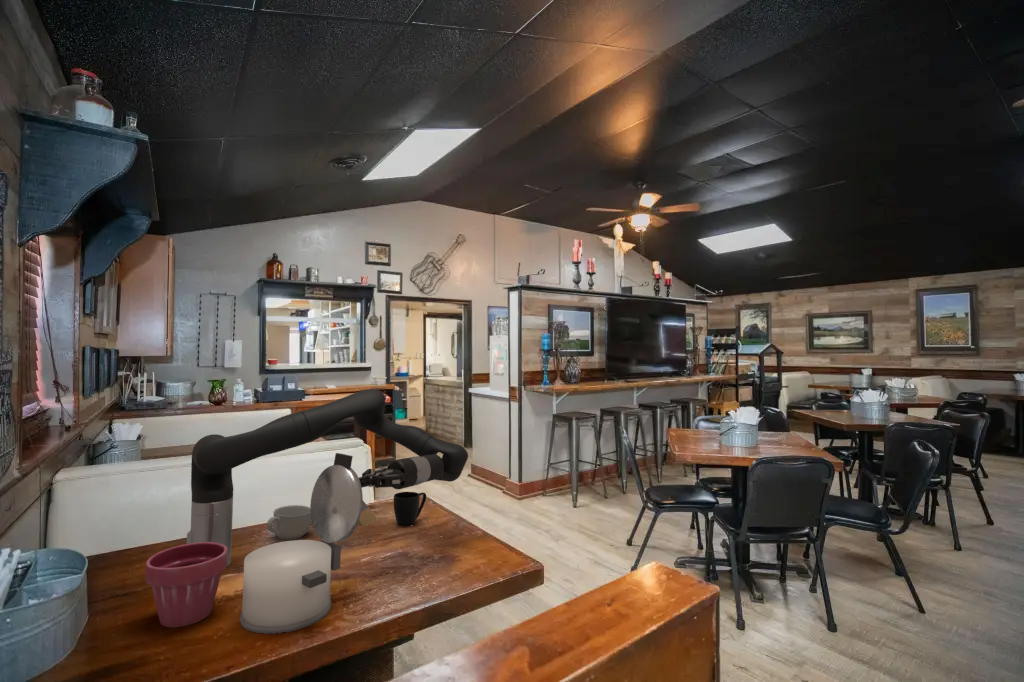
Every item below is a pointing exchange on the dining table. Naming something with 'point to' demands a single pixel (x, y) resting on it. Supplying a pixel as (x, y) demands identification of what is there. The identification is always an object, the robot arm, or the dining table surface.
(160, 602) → the plant pot
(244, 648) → the dining table surface
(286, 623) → the oval food canister
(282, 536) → the teacup
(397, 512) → the mug
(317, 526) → the lid
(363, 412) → the robot arm
